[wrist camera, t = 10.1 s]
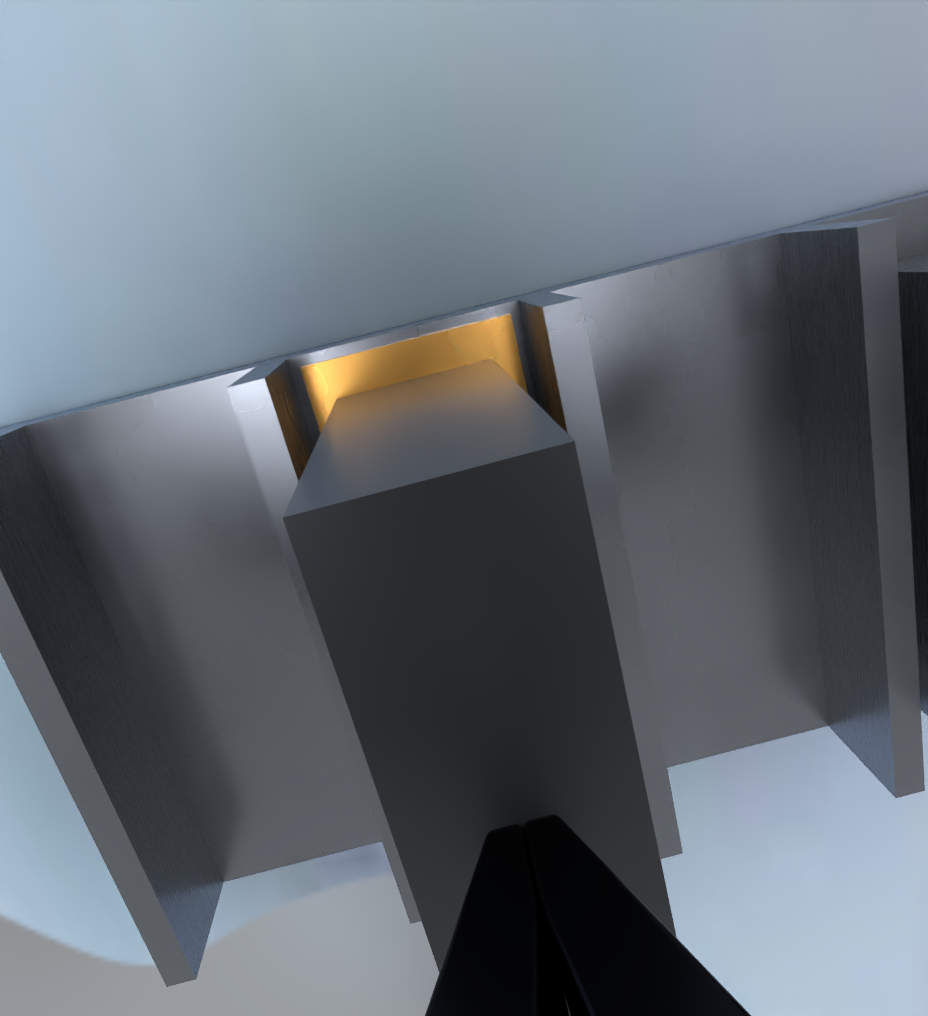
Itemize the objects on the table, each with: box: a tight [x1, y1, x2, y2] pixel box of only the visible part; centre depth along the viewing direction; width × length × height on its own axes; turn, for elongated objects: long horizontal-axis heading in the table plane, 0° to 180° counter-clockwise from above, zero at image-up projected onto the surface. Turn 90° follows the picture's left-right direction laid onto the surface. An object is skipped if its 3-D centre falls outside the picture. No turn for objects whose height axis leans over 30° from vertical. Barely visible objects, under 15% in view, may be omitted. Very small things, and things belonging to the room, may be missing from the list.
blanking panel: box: [282, 358, 676, 1015], centre depth 12 cm, size 3×9×7 cm, turn 14°
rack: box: [0, 192, 928, 987], centre depth 14 cm, size 22×12×6 cm, turn 103°
